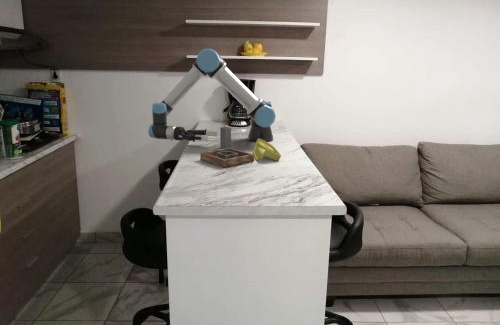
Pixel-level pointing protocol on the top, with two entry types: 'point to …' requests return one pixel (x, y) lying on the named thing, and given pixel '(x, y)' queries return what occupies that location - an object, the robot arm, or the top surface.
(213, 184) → the top surface
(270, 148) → the plastic component
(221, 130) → the grey tall block
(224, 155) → the box
